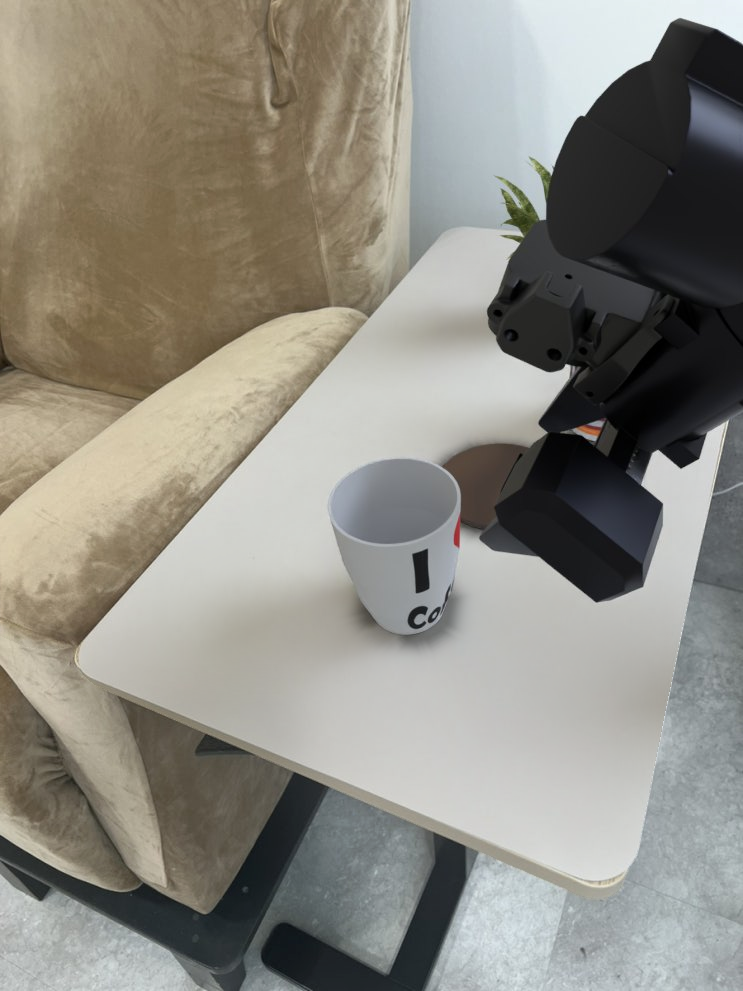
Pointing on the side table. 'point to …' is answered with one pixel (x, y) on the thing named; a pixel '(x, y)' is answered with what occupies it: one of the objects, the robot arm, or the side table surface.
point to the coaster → (482, 479)
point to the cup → (399, 539)
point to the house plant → (523, 204)
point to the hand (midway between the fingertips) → (517, 481)
